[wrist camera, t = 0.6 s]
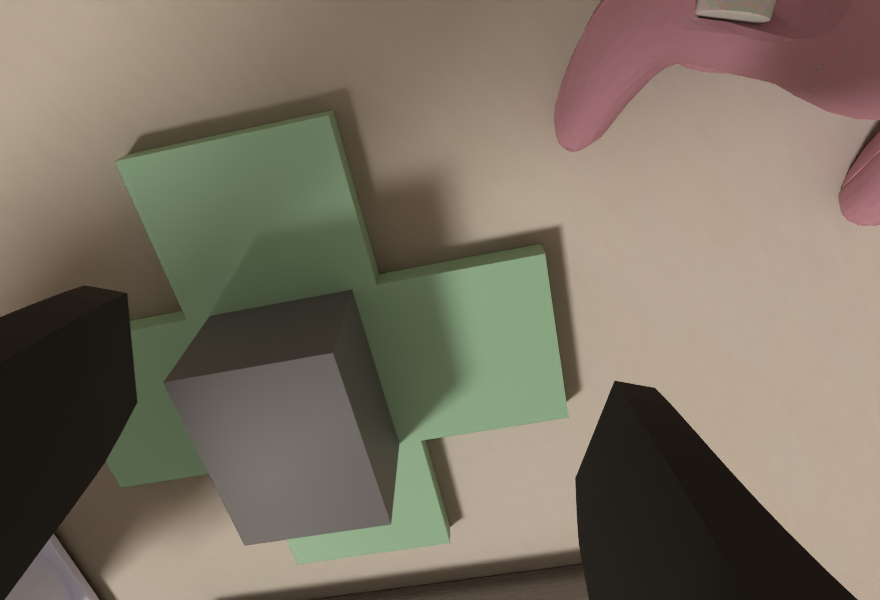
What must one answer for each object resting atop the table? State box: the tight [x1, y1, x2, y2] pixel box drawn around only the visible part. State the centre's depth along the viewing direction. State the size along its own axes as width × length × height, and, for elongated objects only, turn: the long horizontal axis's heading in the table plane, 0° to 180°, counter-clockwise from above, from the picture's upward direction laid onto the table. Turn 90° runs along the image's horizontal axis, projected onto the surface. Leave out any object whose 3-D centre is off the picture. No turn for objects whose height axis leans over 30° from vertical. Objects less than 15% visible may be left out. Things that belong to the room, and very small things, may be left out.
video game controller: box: [554, 0, 880, 226], centre depth 14 cm, size 10×5×7 cm, turn 76°
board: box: [105, 110, 569, 564], centre depth 19 cm, size 16×16×4 cm
